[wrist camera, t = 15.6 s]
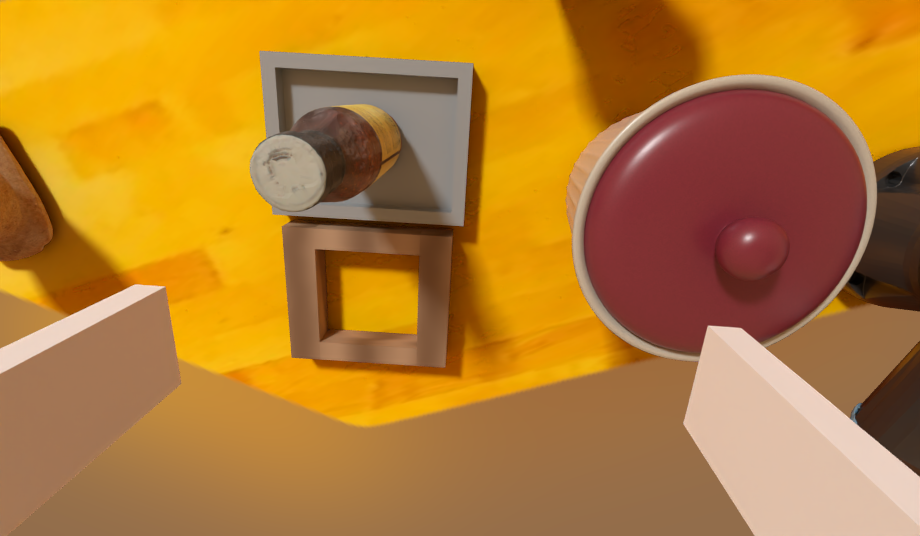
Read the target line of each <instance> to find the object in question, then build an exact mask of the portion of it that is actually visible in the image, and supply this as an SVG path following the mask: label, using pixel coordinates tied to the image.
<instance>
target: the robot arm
mask: <svg viewBox="0 0 920 536" xmlns="http://www.w3.org/2000/svg"><path fill="white" fill-rule="evenodd" d="M873 164H874V169H875V174H876V183H877V204H876V213H875V219H874V224H873V228H872V232H871V235H870V238H869V241H868V244H867V246H866V249H865V251H864V254H863V256H862V258H861V260H860V262H859V264H858V266H857V267H856V269H855V271H854V272H853V274H852V276H851V277H850V279H849V280H848V282H847V283H846V284H845V286H844V287H843V288H842V290H843V291H845V292H847V293H849V294H851V295H853V296H855V297H857V298H859V299H861V300H863V301H866V302H868V303H871V304H874V305H878V306H882V307H889V308H897V309H904V310H913V311H920V147H913V148H908V149H904V150H900V151H897V152H894V153H891V154H889V155H886V156H884V157H882V158H880V159H878V160H876V161H875V162H873ZM180 384H181V379H180V373H179V367H178V360H177V354H176V348H175V342H174V336H173V330H172V324H171V318H170V312H169V306H168V300H167V294H166V288H165V287H163V286H149V285H133V286H131V287H129V288H127V289H125V290H123V291H121V292H118V293H116V294H114V295H112V296H110V297H108V298H106V299H104V300H102V301H100V302H97V303H95V304H93V305H91V306H89V307H87V308H85V309H83V310H81V311H79V312H76V313H74V314H72V315H70V316H68V317H66V318H64V319H62V320H60V321H58V322H56V323H53V324H51V325H49V326H47V327H45V328H43V329H41V330H39V331H37V332H35V333H32V334H30V335H28V336H26V337H24V338H22V339H20V340H18V341H16V342H14V343H12V344H9V345H7V346H5V347H3V348H1V349H0V536H7V535H8V534H9V533H10V532H12V531H13V530H14V529H15V528H16V527H17V526H19V525H20V524H21V523H22V522H23V521H24V520H25V519H27V518H28V517H29V516H30V515H31V514H32V513H33V512H35V511H36V510H37V509H38V508H39V507H40V506H42V505H43V504H44V503H45V502H46V501H47V500H48V499H50V498H51V497H52V496H53V495H54V494H55V493H56V492H58V491H59V490H60V489H61V488H62V487H63V486H64V485H65V484H67V483H68V482H69V481H70V480H71V479H72V478H74V477H75V476H76V475H77V474H78V473H79V472H80V471H82V470H83V469H84V468H85V467H86V466H87V465H88V464H90V463H91V462H92V461H93V460H94V459H95V458H97V457H98V456H99V455H100V454H101V453H102V452H103V451H105V450H106V449H107V448H108V447H109V446H110V445H111V444H113V443H114V442H115V441H116V440H117V439H118V438H119V437H121V436H122V435H123V434H124V433H125V432H126V431H127V430H129V429H130V428H131V427H132V426H133V425H134V424H136V423H137V422H138V421H139V420H140V419H141V418H142V417H144V415H146V414H147V413H148V412H149V411H150V410H152V409H153V408H154V407H155V406H156V405H157V404H158V403H160V402H161V401H162V400H163V399H164V398H165V397H167V396H168V395H169V394H170V393H171V392H172V391H173V390H175V389H176V388H177V387H178V386H179V385H180ZM683 424H684V426H685V427H686V429H687V430H688V432H689V433H690V435H691V436H692V438H693V440H694V441H695V443H696V444H697V446H698V448H699V449H700V451H701V452H702V454H703V455H704V457H705V458H706V460H707V462H708V463H709V464H710V466H711V468H712V469H713V471H714V472H715V474H716V476H717V477H718V479H719V480H720V482H721V484H722V485H723V487H724V488H725V490H726V491H727V493H728V494H729V496H730V498H731V499H732V501H733V502H734V504H735V506H736V507H737V508H738V510H739V512H740V513H741V515H742V517H743V518H744V520H745V521H746V523H747V524H748V526H749V528H750V529H751V531H752V532H753V534H754V535H755V536H920V341H919V342H918V344H916V345H915V347H914V348H913V349H912V350H911V351H910V352H909V353H908V354H907V355H906V356H905V358H904V359H903V360H902V361H901V362H900V363H899V364H898V365H897V366H896V367H895V368H894V369H893V371H892V372H891V373H890V374H889V375H888V376H887V377H886V378H885V379H884V380H883V381H882V382H881V384H880V385H879V386H878V387H877V388H876V389H875V390H874V391H873V392H872V393H871V395H870V396H869V397H868V398H867V399H866V400H865V401H864V402H863V403H859V404H857V405H856V407H854V409H853V410H852V412H851V417H850V418H848V417H847V416H846V415H845V414H844V413H842V412H841V411H840V410H839V409H838V408H836V407H835V406H834V405H833V404H832V403H830V402H829V401H828V400H827V399H826V398H824V397H823V396H822V395H821V394H819V393H818V392H817V391H816V390H815V389H814V388H812V387H811V386H810V385H809V384H808V383H806V382H805V381H804V380H803V379H802V378H800V377H799V376H798V375H797V374H796V373H794V372H793V371H792V370H791V369H790V368H788V367H787V366H786V365H785V364H783V363H782V362H781V361H780V360H779V359H778V358H776V357H775V356H774V355H773V354H772V353H770V352H769V351H768V350H767V349H766V348H764V347H763V346H762V345H761V344H760V343H759V342H757V341H756V340H755V339H754V338H753V337H751V336H750V335H749V334H748V333H747V332H745V331H744V330H743V329H742V328H735V327H721V326H708V327H707V331H706V335H705V339H704V343H703V347H702V351H701V355H700V359H699V363H698V367H697V371H696V375H695V379H694V383H693V387H692V391H691V395H690V399H689V403H688V407H687V411H686V415H685V419H684V423H683Z"/></svg>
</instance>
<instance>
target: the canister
mask: <svg viewBox="0 0 920 536" xmlns="http://www.w3.org/2000/svg"><path fill="white" fill-rule="evenodd" d="M566 204H567V216H568V221H569V224H570V228H571V233H572V254H573V262H574V268H575V272H576V276H577V279H578V282H579V285H580V288H581V290H582V292H583V294H584V296H585V298H586V300H587V302H588V304H589V305H590V307H591V308H592V310H593V311H594V313H595V314H596V315H597V317H598V318H599V319H600V320H601V321H602V322H603V324H604V325H605V326H606V327H607V328H608V329H610V330H611V331H612V332H613V333H614V334H615V335H617V336H618V337H619V338H621V339H622V340H624V341H625V342H627V343H629V344H630V345H632V346H634V347H636V348H638V349H640V350H642V351H645V352H647V353H650V354H653V355H656V356H660V357H663V358H668V359H674V360H680V361H695V362H696V361H698V362H699V359H700V355H701V351H702V347H703V343H704V339H705V335H706V331H707V327H708V326H721V327H735V328H742V329H743V330H744V331H745V332H747V333H748V334H749V335H750V336H751V337H753V338H754V339H755V340H756V341H757V342H759V343H760V344H761V345H762V346H763V347H764V348H765V347H768V346H770V345H772V344H774V343H776V342H778V341H780V340H782V339H784V338H786V337H788V336H789V335H791V334H792V333H794V332H796V331H797V330H798V329H800V328H801V327H803V326H804V325H806V324H807V323H808V322H810V321H811V320H812V319H813V318H815V317H816V316H817V315H818V314H819V313H820V312H821V311H822V310H823V309H824V308H825V307H827V306H828V304H829V303H830V302H831V301H832V300H833V299H834V298H835V297H836V296H837V295H838V293H839V292H840V291H841V290H842V288H843V287H844V286H845V284H846V283H847V282H848V280H849V279H850V277H851V276H852V274H853V272H854V271H855V269H856V267H857V266H858V264H859V262H860V260H861V258H862V256H863V254H864V251H865V249H866V246H867V244H868V241H869V238H870V235H871V232H872V228H873V224H874V219H875V213H876V204H877V183H876V174H875V169H874V164H873V160H872V157H871V154H870V151H869V148H868V146H867V143H866V141H865V139H864V137H863V135H862V134H861V132H860V130H859V129H858V127H857V126H856V124H855V123H854V121H853V120H852V119H851V118H850V117H849V115H848V114H847V113H846V112H845V111H844V110H843V109H842V108H841V107H840V106H839V105H837V104H836V103H835V102H834V101H833V100H831V99H830V98H828V97H827V96H825V95H824V94H822V93H821V92H819V91H817V90H815V89H813V88H811V87H809V86H807V85H804V84H802V83H799V82H796V81H793V80H790V79H786V78H781V77H776V76H768V75H734V76H726V77H720V78H715V79H710V80H707V81H703V82H700V83H697V84H694V85H691V86H688V87H686V88H683V89H681V90H679V91H677V92H674V93H672V94H670V95H668V96H667V97H665V98H663V99H661V100H660V101H658V102H656V103H655V104H653V105H652V106H650V107H649V108H647V109H646V110H644V111H643V112H640V113H637V114H634V115H632V116H629V117H627V118H624V119H623V120H621V121H620V122H617V123H615V124H612V125H610V126H609V127H608V128H607V129H606V130H605V131H603V132H601V133H599V134H598V136H597V137H596V138H595V139H594V140H593V141H591V142H589V144H588V146H587V147H586V149H585V150H584V151H583V152H581V154H580V157H579V159H578V160H577V162H576V163H575V164H574V168H573V171H572V173H571V174H570V180H569V184H568V186H567V197H566Z"/></svg>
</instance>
